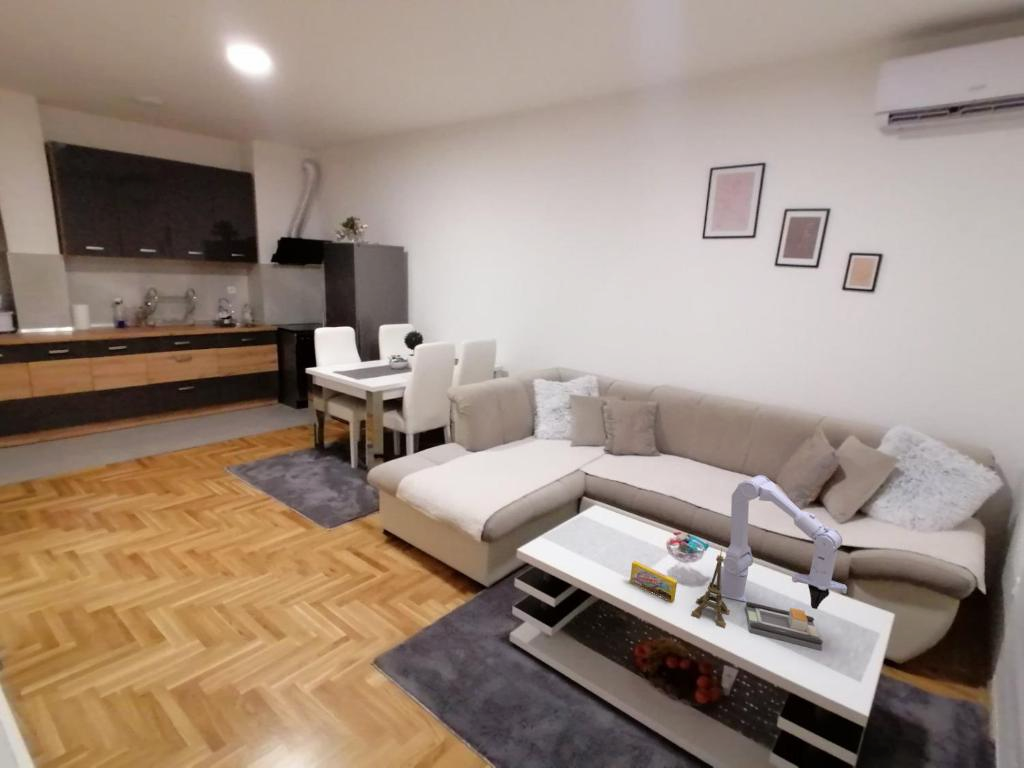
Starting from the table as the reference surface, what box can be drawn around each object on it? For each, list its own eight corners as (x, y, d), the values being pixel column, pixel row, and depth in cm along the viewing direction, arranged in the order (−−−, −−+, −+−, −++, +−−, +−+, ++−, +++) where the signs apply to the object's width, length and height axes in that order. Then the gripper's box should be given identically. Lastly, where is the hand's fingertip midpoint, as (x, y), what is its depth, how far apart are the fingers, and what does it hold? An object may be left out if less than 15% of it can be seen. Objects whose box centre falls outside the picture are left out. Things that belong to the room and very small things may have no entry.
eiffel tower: (729, 610, 171) (742, 543, 165) (724, 628, 162) (737, 558, 156) (697, 599, 176) (708, 533, 170) (690, 615, 167) (702, 547, 161)
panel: (749, 632, 161) (750, 624, 160) (744, 607, 173) (746, 599, 172) (821, 650, 155) (823, 642, 154) (811, 623, 167) (813, 615, 166)
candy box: (629, 582, 183) (631, 562, 181) (631, 580, 184) (634, 559, 182) (672, 603, 172) (675, 582, 171) (674, 601, 174) (678, 579, 172)
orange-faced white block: (790, 629, 161) (793, 617, 160) (787, 619, 165) (790, 607, 164) (804, 633, 160) (807, 620, 158) (801, 623, 164) (804, 610, 163)
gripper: (798, 569, 155) (790, 608, 158) (853, 580, 150) (843, 620, 153) (794, 557, 161) (786, 595, 164) (846, 568, 157) (837, 606, 160)
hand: (813, 606), depth 159 cm, fingers closed
